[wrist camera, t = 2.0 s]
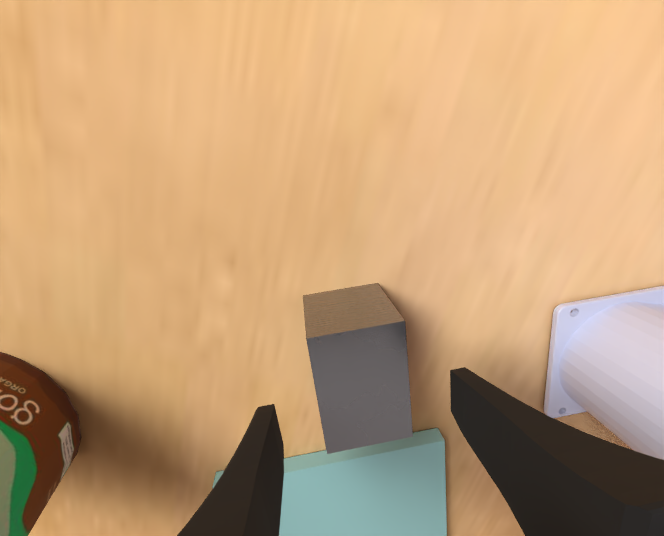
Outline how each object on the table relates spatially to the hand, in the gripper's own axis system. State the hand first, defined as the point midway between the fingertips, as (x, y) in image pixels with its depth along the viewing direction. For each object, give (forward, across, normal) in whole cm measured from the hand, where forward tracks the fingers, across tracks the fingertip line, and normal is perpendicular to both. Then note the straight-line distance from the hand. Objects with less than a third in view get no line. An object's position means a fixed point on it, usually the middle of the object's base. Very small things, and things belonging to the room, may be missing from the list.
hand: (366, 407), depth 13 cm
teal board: (+5, +2, +14) cm, 15 cm away
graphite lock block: (+5, 0, 0) cm, 5 cm away
